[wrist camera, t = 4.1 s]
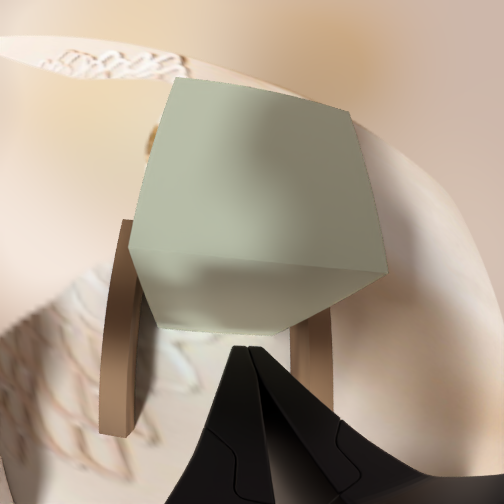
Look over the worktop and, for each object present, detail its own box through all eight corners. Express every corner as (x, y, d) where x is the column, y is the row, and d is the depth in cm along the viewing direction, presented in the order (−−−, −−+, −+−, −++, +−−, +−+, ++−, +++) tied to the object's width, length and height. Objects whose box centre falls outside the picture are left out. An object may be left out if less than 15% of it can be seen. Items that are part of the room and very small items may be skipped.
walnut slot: (311, 429, 14) (333, 436, 12) (111, 424, 12) (99, 433, 9) (306, 259, 18) (324, 242, 16) (129, 241, 16) (122, 219, 14)
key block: (271, 336, 16) (388, 273, 7) (158, 328, 14) (128, 247, 6) (266, 125, 22) (310, 18, 13) (191, 114, 21) (211, -3, 12)
